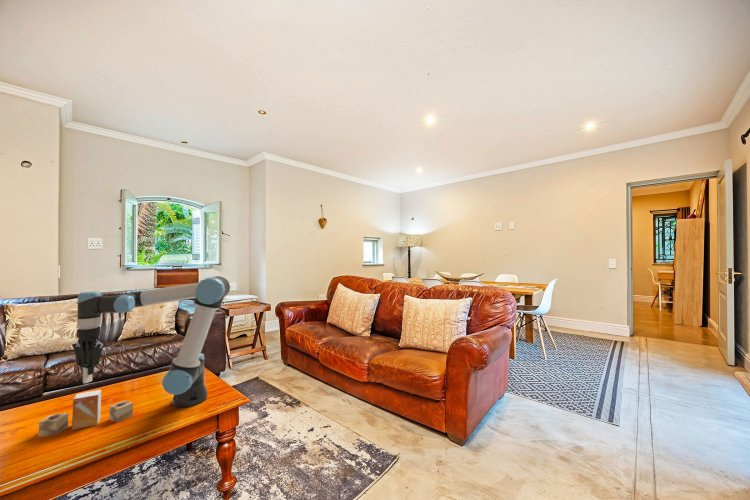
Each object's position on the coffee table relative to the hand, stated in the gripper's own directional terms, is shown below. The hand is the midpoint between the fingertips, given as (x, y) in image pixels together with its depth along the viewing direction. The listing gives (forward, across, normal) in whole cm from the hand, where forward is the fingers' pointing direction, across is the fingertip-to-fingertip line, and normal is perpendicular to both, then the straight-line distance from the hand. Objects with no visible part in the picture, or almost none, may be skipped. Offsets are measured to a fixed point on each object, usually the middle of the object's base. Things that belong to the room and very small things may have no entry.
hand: (87, 381), depth 131 cm
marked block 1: (+18, +8, +6) cm, 21 cm away
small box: (+18, 0, 0) cm, 18 cm away
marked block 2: (+18, -10, -6) cm, 22 cm away
